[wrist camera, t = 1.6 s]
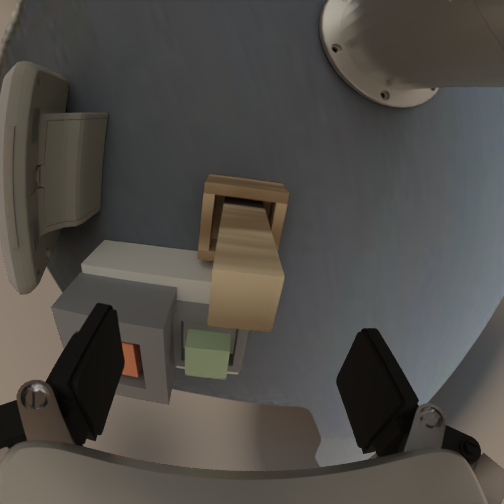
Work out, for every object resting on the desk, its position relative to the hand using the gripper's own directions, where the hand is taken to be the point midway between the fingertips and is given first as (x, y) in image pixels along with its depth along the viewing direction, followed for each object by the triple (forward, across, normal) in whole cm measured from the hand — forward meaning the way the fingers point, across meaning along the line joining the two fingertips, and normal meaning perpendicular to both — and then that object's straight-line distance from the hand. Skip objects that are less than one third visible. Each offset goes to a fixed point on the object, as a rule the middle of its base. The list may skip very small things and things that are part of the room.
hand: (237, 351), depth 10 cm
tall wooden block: (+14, 0, -1) cm, 15 cm away
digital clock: (+16, +16, -4) cm, 23 cm away
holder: (+16, 0, -1) cm, 16 cm away
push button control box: (+16, +5, +8) cm, 19 cm away
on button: (+9, +1, +8) cm, 12 cm away
